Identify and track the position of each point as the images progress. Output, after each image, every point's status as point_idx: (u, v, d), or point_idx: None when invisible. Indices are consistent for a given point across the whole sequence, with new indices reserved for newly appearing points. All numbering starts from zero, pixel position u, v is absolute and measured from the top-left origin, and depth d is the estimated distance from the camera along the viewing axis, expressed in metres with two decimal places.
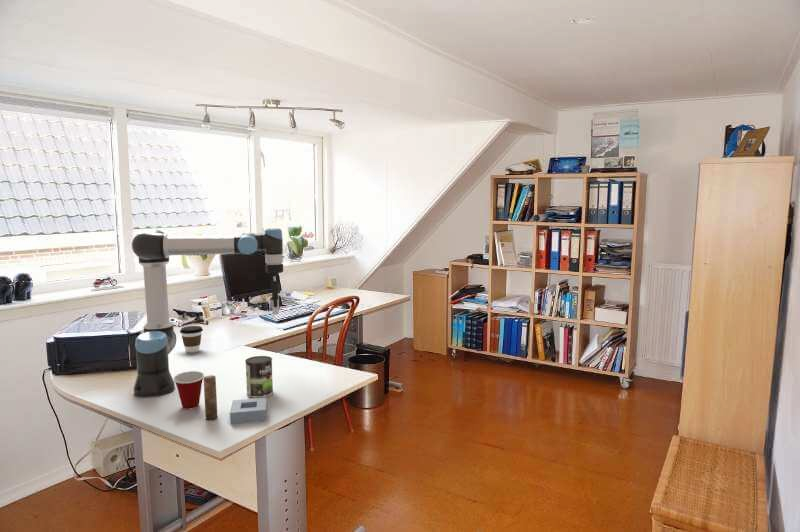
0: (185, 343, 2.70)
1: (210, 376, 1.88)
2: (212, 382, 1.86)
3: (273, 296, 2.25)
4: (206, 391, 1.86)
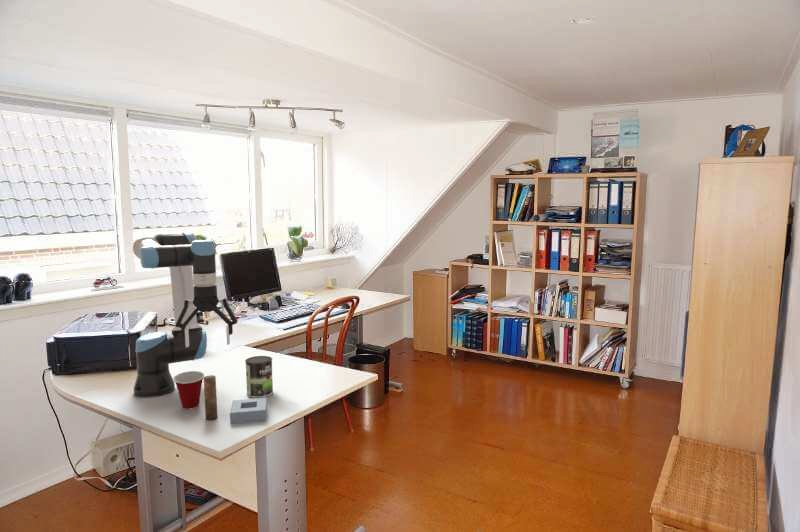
0: None
1: (210, 376, 1.88)
2: (212, 382, 1.86)
3: None
4: (206, 391, 1.86)
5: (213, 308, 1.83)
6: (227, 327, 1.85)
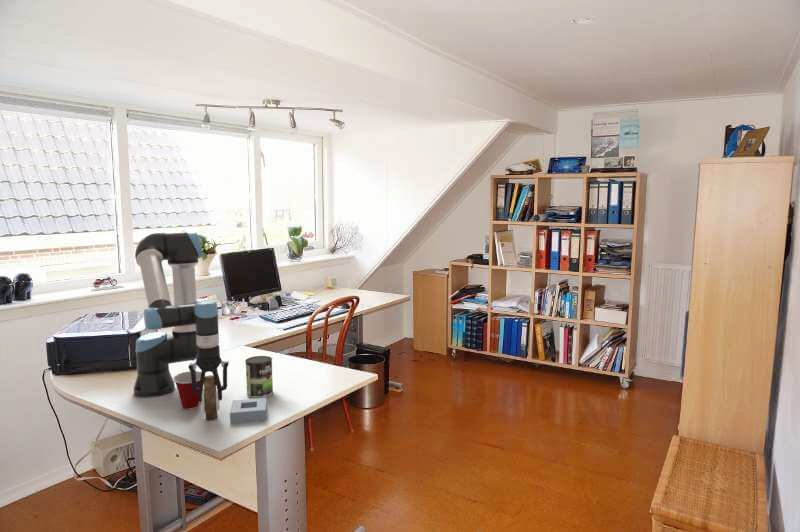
0: None
1: (210, 376, 1.88)
2: (212, 382, 1.86)
3: None
4: (206, 391, 1.86)
5: (213, 370, 1.86)
6: (216, 393, 1.87)
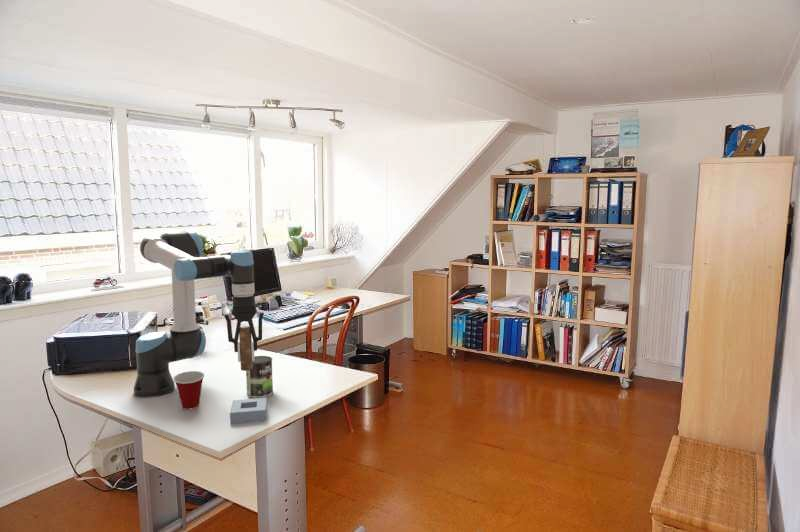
0: None
1: (245, 327, 1.88)
2: (248, 332, 1.86)
3: None
4: (241, 341, 1.85)
5: (249, 319, 1.85)
6: (252, 343, 1.87)
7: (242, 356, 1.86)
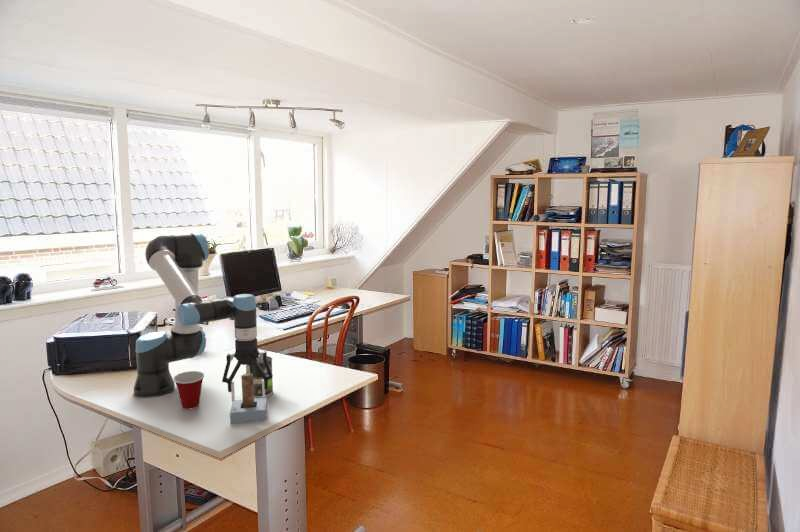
0: None
1: (247, 374, 1.90)
2: (250, 380, 1.88)
3: None
4: (244, 389, 1.88)
5: (253, 361, 1.87)
6: (263, 382, 1.89)
7: (245, 403, 1.89)
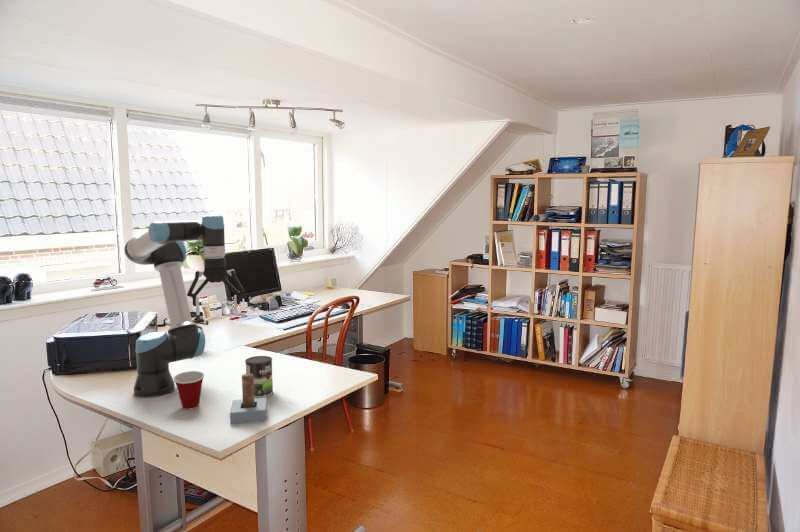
0: None
1: (248, 374, 1.90)
2: (250, 380, 1.88)
3: None
4: (244, 389, 1.88)
5: (222, 279, 1.96)
6: (235, 297, 1.98)
7: (245, 403, 1.89)
